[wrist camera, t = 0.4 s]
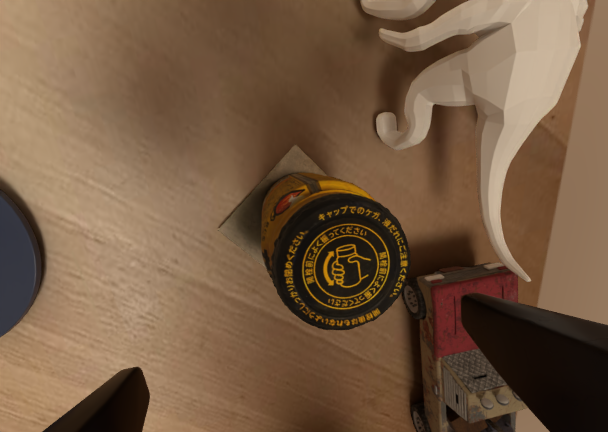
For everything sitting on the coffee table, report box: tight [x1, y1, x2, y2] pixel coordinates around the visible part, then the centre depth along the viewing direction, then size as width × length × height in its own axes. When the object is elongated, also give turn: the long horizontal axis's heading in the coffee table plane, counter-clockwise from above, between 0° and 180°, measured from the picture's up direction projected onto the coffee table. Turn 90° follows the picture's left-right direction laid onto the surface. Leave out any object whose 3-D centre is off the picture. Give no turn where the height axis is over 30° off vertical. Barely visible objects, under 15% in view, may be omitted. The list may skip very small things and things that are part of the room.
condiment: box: [218, 144, 411, 330], centre depth 16 cm, size 7×8×12 cm
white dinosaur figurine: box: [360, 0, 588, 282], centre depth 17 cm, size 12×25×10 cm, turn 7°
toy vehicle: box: [402, 263, 528, 432], centre depth 22 cm, size 7×18×8 cm, turn 8°
